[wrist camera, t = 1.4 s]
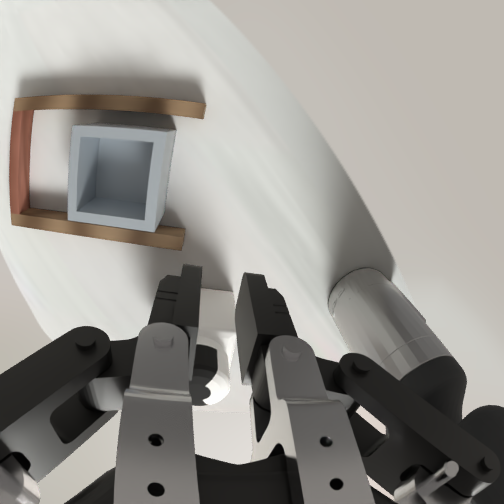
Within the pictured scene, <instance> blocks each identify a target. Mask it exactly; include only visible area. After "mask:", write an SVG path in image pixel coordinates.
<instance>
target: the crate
mask: <svg viewBox="0 0 504 504" xmlns="http://www.w3.org/2000/svg"><path fill="white" fill-rule="evenodd" d="M176 131H177V130H173V129H165V128H156V127H146V126H135V125H122V124H106V123H91V124H81V125H73V126H72V135H71V145H70V157H69V173H68V220H70V221H77V222H84V223H91V224H99V225H106V226H113V227H120V228H127V229H134V230H141V231H148V232H155V230H156V228H157V226H158V224H159V222H160V220H161V219H162V217H163V215H164V213H165V205H166V197H167V189H168V181H169V174H170V167H171V161H172V154H173V148H174V142H175V136H176Z"/></svg>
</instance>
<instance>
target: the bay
mask: <svg viewBox="0 0 504 504" xmlns="http://www.w3.org/2000/svg"><path fill="white" fill-rule="evenodd" d="M45 109H100V110H121V111H136V112H148V113H158V114H168V115H176V116H184V117H192V118H199V119H204V114H205V109H206V104H204V103H197V102H190V101H182V100H173V99H164V98H153V97H140V96H123V95H51V96H35V97H23V98H15V102H14V109H13V117H12V128H11V140H10V164H9V185H10V209H11V222H12V225H15V226H21V227H27V228H34V229H40V230H46V231H53V232H59V233H66V234H72V235H79V236H85V237H92V238H98V239H105V240H112V241H118V242H125V243H132V244H139V245H145V246H152V247H159V248H166V249H173V250H180V251H181V250H182V246H183V241H184V234H185V229H183V228H176V227H169V226H162V225H158V226H157V228H156V230H155V232H148V231H141V230H134V229H127V228H120V227H113V226H106V225H99V224H91V223H84V222H77V221H70V220H68V213H67V212H59V211H51V210H44V209H36V208H30V200H29V166H30V145H31V132H32V122H33V114H34V110H45Z"/></svg>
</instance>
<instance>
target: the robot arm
mask: <svg viewBox="0 0 504 504" xmlns="http://www.w3.org/2000/svg"><path fill="white" fill-rule="evenodd" d="M201 278H202V266H194V265H187V264H183V268H182V273H181V277H179V276H172V275H167V276H166V277H165V278H163V279H162V280H161V281H160V283H159V286H158V290H157V293H156V297H155V300H154V304H153V307H152V311H151V315H150V319H149V322H148V325H147V326H145V327H144V328H143V329H142V330H141V331H140V333H139V336H137V337H135V338H132V339H129V340H119V341H110V339H109V337H108V335H107V334H106V333H105V332H104V331H102V330H101V329H98V328H95V327H91V326H82V327H77V328H74V329H72V330H70V331H69V332H67V333H66V334H64V335H62V336H61V337H59V338H57V339H56V340H54V341H53V342H51V343H49V344H48V345H46V346H45V347H43V348H41V349H40V350H38V351H37V352H35V353H33V354H32V355H30V356H29V357H27V358H26V359H24V360H22V361H21V362H19V363H18V364H16V365H14V366H13V367H11V368H10V369H8V370H7V371H5V372H4V373H2V374H0V504H39V502H40V489H39V486H38V484H37V483H38V482H39V481H40V480H41V479H43V478H44V477H45V476H46V475H47V474H48V473H50V472H51V471H52V470H53V469H54V468H55V467H57V466H58V465H59V464H60V463H61V462H62V461H64V460H65V459H66V458H67V457H68V456H69V455H70V454H72V453H73V452H74V451H75V450H76V449H77V448H78V447H80V446H81V445H82V444H83V443H84V442H85V441H86V440H88V439H89V438H90V437H91V436H92V435H93V434H94V433H95V432H97V430H99V429H100V428H101V427H102V426H103V425H104V424H105V423H107V422H108V421H109V420H110V419H111V418H112V417H113V416H114V415H115V414H116V413H117V412H118V410H122V412H121V419H120V428H119V436H118V446H117V457H116V467H115V468H113V469H111V470H109V471H107V472H106V473H104V474H103V475H102V476H101V477H99V478H98V479H97V480H95V481H94V482H93V483H91V484H90V485H89V486H87V487H86V488H85V489H83V490H82V491H81V492H79V493H78V494H77V495H76V496H74V497H73V498H71V499H70V500H69V501H67V502H66V503H64V504H504V408H503V407H500V406H496V405H487V406H482V407H479V408H477V409H475V410H473V411H472V412H470V413H469V414H468V415H467V416H466V417H465V418H464V419H463V420H462V404H463V399H464V394H465V389H466V384H467V379H466V375H465V372H464V370H463V369H462V367H461V366H460V365H459V364H458V362H457V361H456V360H455V358H454V357H453V356H452V355H451V354H450V352H449V351H448V350H447V349H446V347H445V346H444V345H443V344H442V342H441V341H440V340H439V339H438V338H437V336H436V335H435V334H434V333H433V331H432V330H431V329H430V328H429V327H428V326H427V324H426V320H425V318H424V317H423V316H422V315H421V314H420V312H419V311H418V310H417V309H416V308H415V307H414V306H413V304H412V303H411V302H410V301H409V300H408V299H407V298H406V297H405V295H404V294H403V293H402V292H401V291H400V290H399V289H398V288H397V287H396V286H395V284H394V283H393V282H392V281H388V279H387V278H386V277H385V276H384V275H383V274H382V273H381V272H379V271H377V270H375V269H371V268H363V269H359V270H355V271H353V272H351V273H349V274H348V275H346V276H345V277H343V278H342V279H341V280H340V281H339V282H338V283H337V284H336V286H335V287H334V289H333V290H332V292H331V294H330V298H329V304H328V307H329V312H330V314H331V316H332V317H333V319H334V321H335V323H336V325H337V327H338V329H339V331H340V333H341V335H342V337H343V339H344V341H345V343H346V344H347V346H348V348H349V350H350V352H351V353H348V354H345V355H344V356H342V358H341V359H340V361H339V363H338V362H334V361H330V360H326V359H322V358H319V357H316V356H315V354H314V351H313V349H312V348H311V346H310V345H309V344H308V343H307V342H305V341H304V340H302V339H300V338H298V336H297V333H296V330H295V328H294V325H293V322H292V319H291V316H290V315H289V311H288V308H287V307H286V306H287V305H286V303H285V300H284V297H283V296H282V295H281V294H280V293H279V292H278V291H277V290H276V289H272V288H268V287H267V283H266V280H265V277H264V275H261V274H253V273H246V272H245V273H244V274H243V277H242V282H241V286H240V291H239V295H238V300H237V304H236V309H235V328H236V337H237V346H238V354H239V363H240V371H241V380H242V385H252V391H253V392H252V395H251V398H250V403H249V404H250V418H251V430H252V431H251V432H252V444H253V449H252V456H251V462H250V463H246V464H241V465H236V464H231V463H227V462H223V461H219V460H215V459H211V458H207V457H203V456H200V455H197V454H195V448H194V434H193V416H192V399H191V395H189V381H192V375H193V367H194V359H195V351H196V343H197V336H198V329H199V311H200V294H201ZM360 405H361V406H362V407H363V408H365V409H366V410H367V411H368V412H370V413H371V414H372V415H373V416H374V417H375V418H377V419H378V420H379V421H380V422H382V423H383V424H384V425H385V426H386V435H385V434H382V433H380V432H379V431H378V430H377V429H375V428H374V427H373V426H372V425H371V424H369V423H368V422H367V421H366V420H365V419H363V418H362V417H361V416H360V415H359V414H358V413H356V410H357V409H358V408H359V407H360ZM367 475H368V476H369V477H370V478H372V479H373V480H374V481H375V482H376V483H378V484H379V485H380V486H381V487H382V488H384V489H385V490H386V491H388V492H389V493H390V494H391V495H393V496H394V499H393V500H391V499H390V498H388V497H387V496H385V495H384V494H382V493H381V492H379V491H378V490H376V489H375V488H373V487H372V486H370V485H369V481H368V478H367Z"/></svg>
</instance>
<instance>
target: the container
mask: <svg viewBox="0 0 504 504" xmlns="http://www.w3.org/2000/svg"><path fill="white" fill-rule="evenodd" d="M236 339H237V337H236V328H235V301H234V293H233V292H231V291H222V290H213V289H205V288H201V294H200V311H199V329H198V336H197V343H196V351H195V359H194V367H193V375H192V381H189V395H191V399H192V405H195V406H204V405H210V404H214V403H216V402H218V401H220V400H222V399H223V398H224V397H225V396H226V395H227V394H228V392H229V391H230V373H229V370H230V366H231V361H232V357H233V353H234V348H235V344H236Z"/></svg>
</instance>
